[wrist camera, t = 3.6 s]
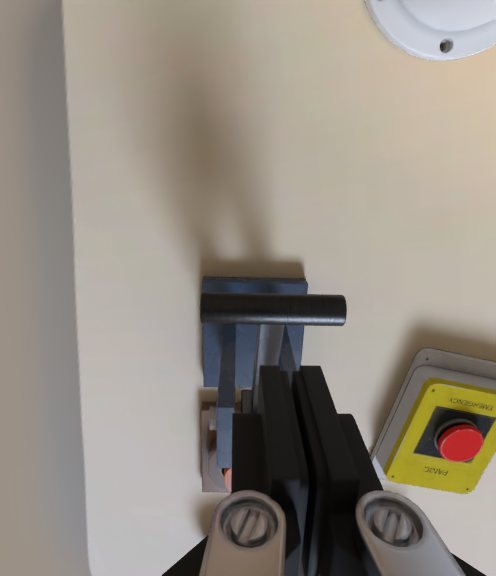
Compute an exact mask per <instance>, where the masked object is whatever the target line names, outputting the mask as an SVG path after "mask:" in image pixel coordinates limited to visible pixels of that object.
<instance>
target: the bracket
mask: <svg viewBox="0 0 496 576" xmlns="http://www.w3.org/2000/svg"><path fill="white" fill-rule="evenodd" d="M307 289H308V283H307V281H306V279H288V278H239V277H203V281H202V293H203V292H212V293H264V294H307ZM303 334H304V325H285V327H284V333H283V339H282V345H281V351H280V357H279V363H278V365H279V366H280V370H281V371H287V372H288V377H289V382H290V387H291V378H292V371H299V367H300V366H301V357H302V346H303ZM256 335H257V325H253V324H203V376H204V387H218V396H217V406H210V413H209V429H210V430H217V468H231V466H232V413H235V387H252V381H253V370H254V358H255V346H256Z"/></svg>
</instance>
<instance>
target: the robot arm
mask: <svg viewBox="0 0 496 576" xmlns="http://www.w3.org/2000/svg"><path fill="white" fill-rule="evenodd" d="M364 1H365V3H366V6H367V8H368V10H369V13H370V15H371V17H372V19H373V20H374V22H375V23H376V25H377V26H378V28H379V29H380V31H381V32H382V34H383V35H385V36H386V37H387V38H388V39H389V40H390V41H391V42H392V43H393V44H394V45H395V46H397V47H398V48H400V49H401V50H403V51H405V52H406V53H408V54H410V55H413V56H416V57H419V58H422V59H425V60H436V61H447V60H455V59H461V58H464V57H467V56H471V55H475V54H477V53H479V52H481V51H484V50H486V49H488V48H490V47H493V46H494V45H496V0H364ZM440 43H441V44H442V45H443V50H442V51H441V50H440ZM301 561H302V567H303V574H304V576H486V575H484V574H483V573H481V572H480V571H478V570H477V569H475V568H474V567H472V566H471V565H469V564H467V563H466V562H464V561H463V560H461V559H460V558H458V557H457V556H455V555H454V554H452V553H451V552H450V551H449V550H448V548H447V546H446V545H445V543H444V542H443V540H442V539H441V537H440V536H439V534H438V533H437V531H436V530H435V528H434V527H433V525H432V524H431V522H430V521H429V519H428V518H427V516H426V515H425V514H424V512H423V511H422V510H421V509H420V508H419V507H418V506H417V505H416V504H415V503H413V502H412V501H411V500H410V499H408V498H406V497H404V496H402V495H400V494H398V493H394V492H390V491H384V490H383V488H382V485H381V483H380V481H379V478H378V476H377V473H376V471H375V468H374V466H373V463H372V461H371V458H370V456H369V453H368V451H367V449H366V446H365V444H364V441H363V439H362V436H361V434H360V431H359V429H358V426H357V424H356V422H355V419H354V417H353V415H351V414H337V412H336V409H335V406H334V403H333V400H332V398H331V395H330V392H329V389H328V386H327V383H326V381H325V378H324V375H323V372H322V369H321V367H320V366H300V367H299V371H292V378H291V387H290V382H289V377H288V372H287V371H281V370H280V366H279V365H260V368H259V387H258V410H257V413H232V466H231V495H229V496H227V497H226V498H224V499H223V500H222V501H221V502H220V503H219V505H218V506H217V507H216V510H215V512H214V515H213V518H212V522H211V527H210V531H209V535H208V536H207V537H205V538H204V539H203V540H202V541H201V542H200V543H199V544H197V545H196V546H195V547H194V548H193V549H192V550H190V551H189V552H188V553H187V554H186V555H185V556H184V557H182V558H181V559H180V560H179V561H178V562H177V563H176V564H174V565H173V566H172V567H171V568H170V569H169V570H167V571H166V572H165V573H164V574H163V575H162V576H299V574H300V565H301Z"/></svg>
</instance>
